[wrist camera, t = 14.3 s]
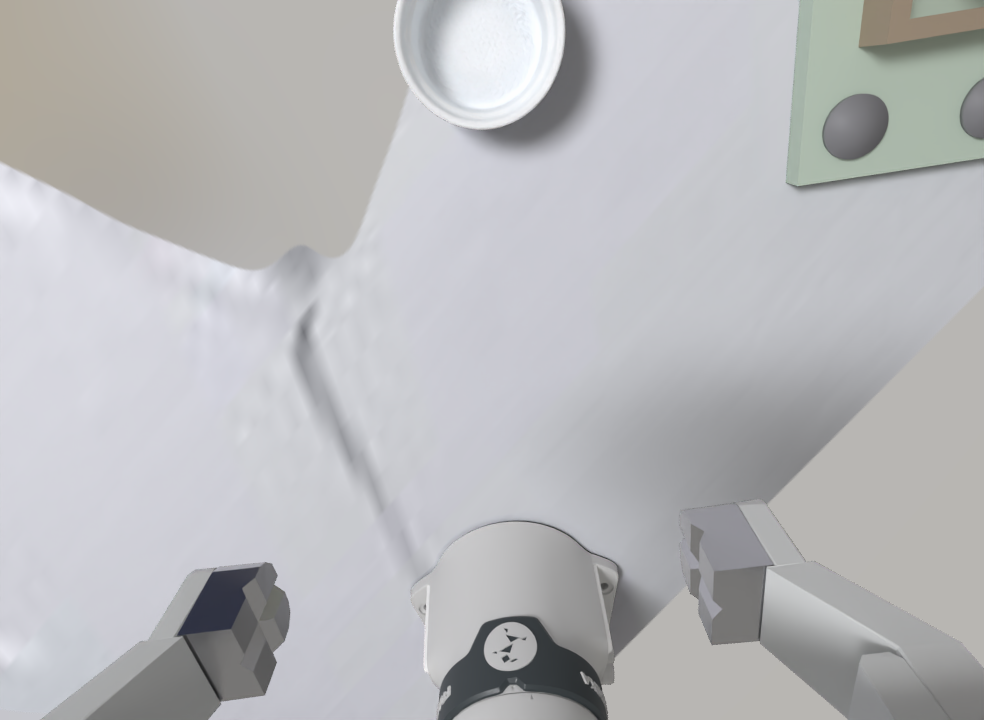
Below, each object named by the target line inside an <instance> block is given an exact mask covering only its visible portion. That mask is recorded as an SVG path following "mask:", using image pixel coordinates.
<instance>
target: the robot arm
mask: <svg viewBox="0 0 984 720" xmlns="http://www.w3.org/2000/svg"><path fill="white" fill-rule="evenodd" d="M679 526H680V528H681V531H682V533H683V535H684V539H683V540H682V541H681V542H680V559H681V565H682V571H683V574H684V578H685V581H686V584H687V586H688V589H689V591H690V594H692V595H693V596H694V597H696V598H697V599H699V615H700V618H701V620H702V623H703V625H704V627H705V630H706V632H707V635H708V637H709V640H710V642H711V644H712V645H718V644H728V643H741V642H753V641H760V644H761V645H762V646H764V647H765V648H766V649H767V650H768V651H769V652H771V653H772V654H773V655H774V656H775V657H776V658H778V659H779V660H780V661H781V662H782V663H783V664H784V665H786V666H787V667H788V668H789V669H790V670H791V671H793V672H794V673H795V674H796V675H797V676H798V677H800V678H801V679H802V680H803V681H804V682H805V683H807V684H808V685H809V686H810V687H811V688H812V689H814V690H815V691H816V692H817V693H818V694H819V695H821V696H822V697H823V698H824V699H825V700H826V701H827V702H829V703H830V704H831V705H832V706H833V707H834V708H836V709H837V710H838V711H839V712H840V713H842V714H843V715H844V716H845V717H846V718H847V719H848V720H984V668H983V667H982V666H981V664H980V663H979V662H978V661H977V660H976V659H975V657H974V656H973V655H972V654H971V653H970V652H969V651H968V649H967V648H966V647H965V646H964V645H963V644H962V642H960V641H958V640H957V639H955V638H953V637H951V636H949V635H947V634H946V633H944V632H942V631H940V630H938V629H937V628H935V627H933V626H931V625H929V624H928V623H926V622H924V621H922V620H920V619H919V618H917V617H915V616H913V615H911V614H909V613H908V612H906V611H904V610H902V609H900V608H899V607H897V606H895V605H893V604H891V603H890V602H888V601H886V600H884V599H882V598H881V597H879V596H877V595H875V594H873V593H872V592H870V591H868V590H866V589H864V588H863V587H861V586H859V585H857V584H855V583H853V582H852V581H850V580H848V579H846V578H844V577H843V576H841V575H839V574H837V573H835V572H833V571H832V570H830V569H828V568H826V567H825V566H823V565H821V564H819V563H817V562H816V561H811V562H806V561H805V559H804V558H803V556H802V555H801V553H800V552H799V551H798V549H797V548H796V546H795V545H794V543H793V542H792V540H791V539H790V537H789V536H788V535H787V533H786V532H785V530H784V529H783V527H782V526H781V524H780V523H779V522H778V520H777V519H776V517H775V516H774V514H773V513H772V511H771V510H770V509H769V507H768V506H767V504H766V503H765V502H764V501H763V500H761V499H756V500H749V501H742V502H735V503H733V504H732V503H729V504H722V505H714V506H707V507H700V508H692V509H685V510H681V512H680V522H679ZM277 576H278V575H277V573H276V571H275V569H274V567H273V565H272V564H271V563H267V562H263V563H253V564H243V565H233V566H223V567H218V568H209V569H197V570H194V571H193V572H191V573H190V574H188V575H187V577H186V579H185V580H184V582H183V584H182V585H181V587H180V588H179V590H178V592H177V593H176V595H175V597H174V598H173V600H172V602H171V603H170V605H169V606H168V608H167V610H166V611H165V613H164V615H163V616H162V618H161V619H160V621H159V623H158V624H157V626H156V628H155V629H154V631H153V633H152V634H151V636H150V637H149V639H148V640H147V641H140V642H139V643H137V644H136V645H135V646H134V647H132V648H131V649H130V650H128V651H127V652H126V653H125V654H123V655H122V656H121V657H120V658H118V659H117V660H116V661H114V662H113V663H112V664H111V665H109V666H108V667H107V668H105V669H104V670H103V671H102V672H100V673H99V674H98V675H97V676H95V677H94V678H93V679H91V680H90V681H89V682H88V683H86V684H85V685H84V686H83V687H81V688H80V689H79V690H77V691H76V692H75V693H74V694H72V695H71V696H70V697H68V698H67V699H66V700H65V701H63V702H62V703H61V704H60V705H58V706H57V707H56V708H54V709H53V710H52V711H51V712H49V713H48V714H47V715H46V716H44V717H43V718H42V719H41V720H208V719H209V718H210V717H211V715H212V714H213V713H214V712H215V711H216V710H217V708H218V707H219V706H220V705H221V702H222V701H229V700H236V699H242V698H249V697H256V696H263V695H265V693H266V691H267V688H268V685H269V682H270V680H271V677H272V674H273V671H274V669H275V666H276V663H277V662H276V659H275V657H274V654H273V652H274V651H275V650H276V649H277V648H278V647H279V646H280V645H281V644H282V643H283V642H284V641H285V638H286V635H287V632H288V629H289V620H290V608H289V602H288V599H287V596H286V594H285V592H284V591H283V590H281V589H280V588H278V587H277V586H275V585H274V583H275V581H276V578H277ZM618 577H619V576H618V569H617V566H616V564H614V563H613V562H612V561H610V560H608V559H605V558H602V557H600V556H597V555H594V554H591V553H589V552H587V551H586V550H585V549H583V548H582V547H581V546H580V545H579V544H578V543H577V542H576V541H574V540H573V539H572V538H571V537H569V536H568V535H566V534H564V533H562V532H560V531H558V530H556V529H554V528H551V527H548V526H545V525H541V524H536V523H530V522H502V523H496V524H491V525H487V526H484V527H481V528H478V529H476V530H473V531H471V532H469V533H467V534H465V535H464V536H462V537H461V538H459V539H458V540H456V541H455V542H454V543H453V544H452V545H450V546H449V548H448V549H447V550H446V551H445V552H444V553H443V555H442V556H441V558H440V560H439V561H438V563H437V565H436V567H435V568H434V570H433V571H432V572H431V573H430V574H428V575H427V576H425V577H424V578H422V579H421V580H420V581H418V582H417V583H416V584H415V585H414V586H413V587H412V589H411V603H412V605H413V606H414V608H415V610H416V611H417V613H418V615H419V616H420V618H421V620H422V622H423V623H424V625H425V638H424V671H425V672H426V673H428V674H429V676H430V678H431V680H432V682H433V683H434V685H435V686H436V687H437V688H438V689H439V690H440V694H439V703H438V708H437V720H608V715H607V714H608V711H607V705H606V701H605V697H604V695H603V692H602V687H601V684H612V683H614V666H613V663H614V649H613V646H612V640H611V635H610V630H609V624H610V619H611V614H612V609H613V604H614V599H615V594H616V589H617V584H618ZM602 583H603V584H602Z"/></svg>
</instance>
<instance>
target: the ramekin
mask: <svg viewBox="0 0 984 720" xmlns="http://www.w3.org/2000/svg"><path fill="white" fill-rule="evenodd" d="M393 27H394V28H393V36H394V46H395V52H396V57H397V60H398V64H399V67H400V69H401V72H402V74H403V77H404V79H405V80H406V82H407V84H408V86H409V87H410V89H411V90H412V92H413V93H414V95H415V96H416V97H417V98H418V100H419V101H420V102H421V103H422V104H423V105H424V106H425V107H426V108H427V109H428V110H430V111H431V112H432V113H434V114H435V115H436V116H438V117H439V118H441V119H443V120H445V121H447V122H448V123H451V124H453V125H456V126H459V127H463V128H467V129H474V130H489V129H496V128H499V127H503V126H506V125H509V124H511V123H514V122H516V121H517V120H519V119H521V118H523V117H524V116H525V115H527V114H528V113H529V112H530V111H532V110H533V109H534V108H535V107H536V106H537V105H538V104H539V103H540V102H541V101H542V99H543V98H544V97H545V96H546V94H547V92H548V91H549V90H550V88H551V86H552V84H553V82H554V80H555V78H556V76H557V74H558V71H559V68H560V65H561V62H562V58H563V53H564V47H565V35H566V31H565V17H564V11H563V6H562V2H561V0H398V1H397V5H396V9H395V16H394V25H393Z"/></svg>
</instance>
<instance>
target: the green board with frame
mask: <svg viewBox="0 0 984 720" xmlns="http://www.w3.org/2000/svg"><path fill="white" fill-rule="evenodd" d="M980 158H984V0H800V6H799V19H798V32H797V45H796V58H795V71H794V84H793V97H792V110H791V123H790V136H789V149H788V162H787V175H786V183H789V184H792V185H795V186H802V185H809V184H816V183H822V182H829V181H835V180H842V179H848V178H855V177H862V176H868V175H875V174H881V173H888V172H895V171H901V170H908V169H914V168H921V167H927V166H934V165H941V164H947V163H954V162H960V161H967V160H974V159H980Z"/></svg>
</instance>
